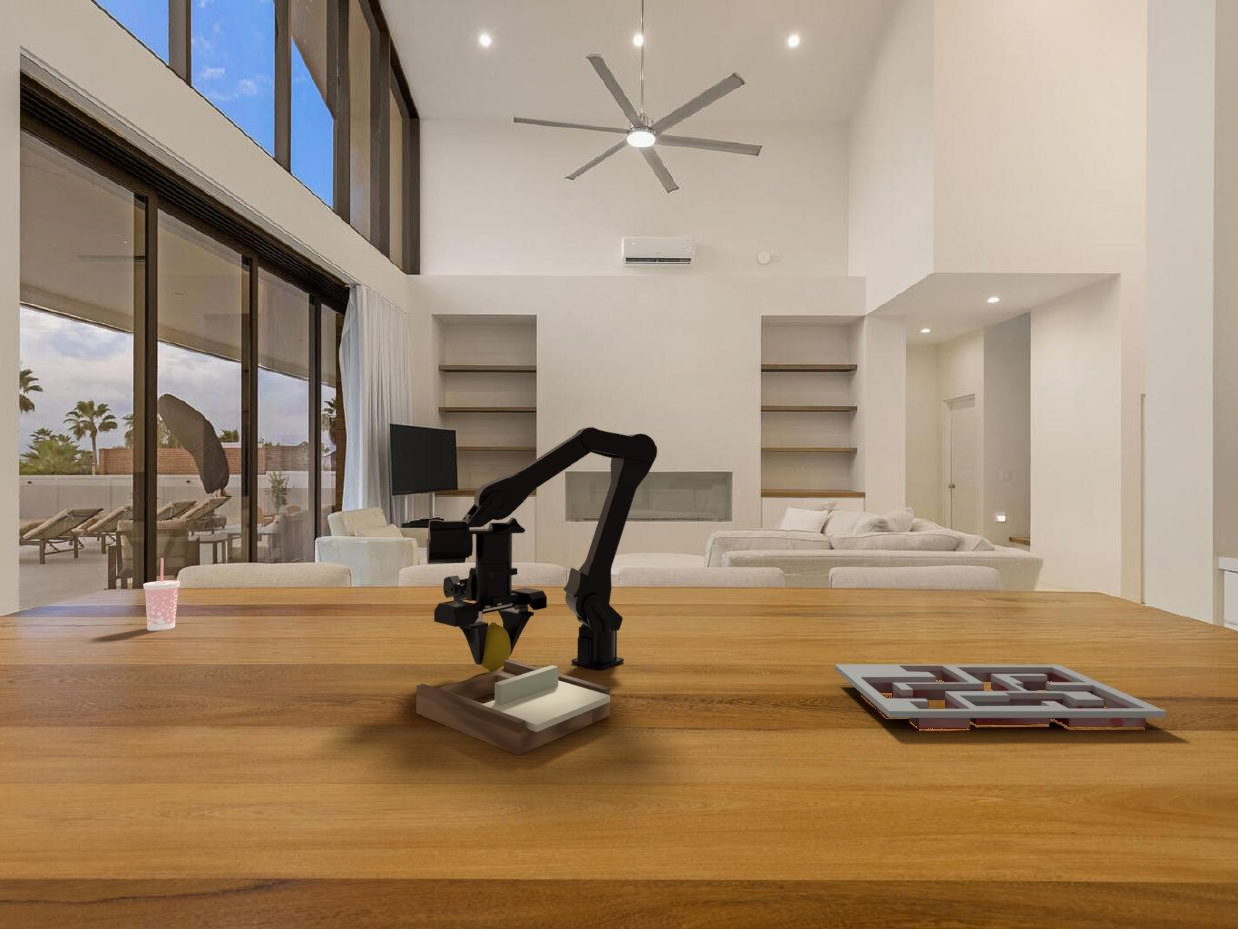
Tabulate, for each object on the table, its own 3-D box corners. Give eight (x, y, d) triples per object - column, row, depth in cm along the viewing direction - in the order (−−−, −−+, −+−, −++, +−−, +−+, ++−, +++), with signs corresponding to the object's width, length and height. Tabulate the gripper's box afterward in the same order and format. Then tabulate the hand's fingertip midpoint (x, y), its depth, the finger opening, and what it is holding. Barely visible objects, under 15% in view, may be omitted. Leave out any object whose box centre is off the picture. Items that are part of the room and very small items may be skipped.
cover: (554, 685, 92) (555, 661, 92) (610, 701, 86) (610, 676, 86) (480, 711, 82) (480, 684, 82) (536, 732, 76) (536, 703, 76)
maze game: (1059, 685, 103) (1059, 664, 103) (1166, 736, 84) (1166, 711, 84) (834, 685, 103) (834, 664, 103) (889, 737, 83) (889, 711, 83)
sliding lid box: (508, 683, 101) (508, 659, 101) (609, 715, 88) (610, 687, 88) (416, 713, 88) (416, 685, 88) (518, 755, 76) (519, 723, 76)
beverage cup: (165, 631, 131) (166, 560, 131) (134, 631, 131) (135, 559, 131) (186, 624, 137) (187, 555, 137) (157, 624, 137) (157, 555, 137)
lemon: (502, 679, 103) (503, 627, 103) (469, 677, 104) (469, 625, 104) (515, 669, 108) (516, 619, 108) (483, 666, 109) (483, 617, 109)
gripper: (505, 552, 119) (504, 640, 118) (413, 563, 104) (412, 663, 104) (549, 557, 111) (548, 651, 111) (457, 570, 97) (456, 678, 97)
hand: (493, 660), depth 106 cm, fingers closed on lemon, 5 cm apart
